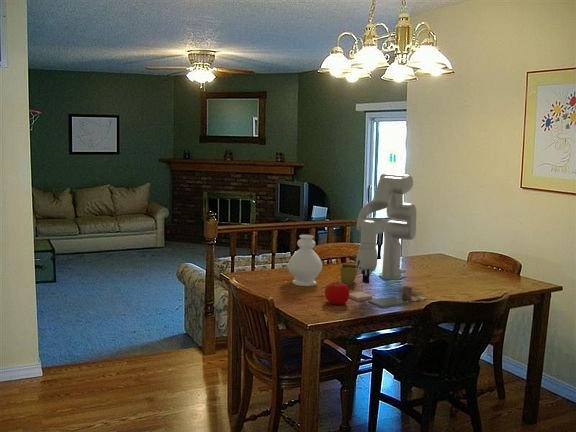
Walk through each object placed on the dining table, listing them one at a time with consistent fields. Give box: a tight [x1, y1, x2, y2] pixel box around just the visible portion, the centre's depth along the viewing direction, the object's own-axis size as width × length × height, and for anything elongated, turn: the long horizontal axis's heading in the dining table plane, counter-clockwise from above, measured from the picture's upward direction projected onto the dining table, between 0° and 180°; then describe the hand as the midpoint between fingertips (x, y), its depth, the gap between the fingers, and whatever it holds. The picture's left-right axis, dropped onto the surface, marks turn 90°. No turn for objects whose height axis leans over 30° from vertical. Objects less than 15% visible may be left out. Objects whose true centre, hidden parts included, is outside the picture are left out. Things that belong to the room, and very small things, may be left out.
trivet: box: [367, 295, 409, 309], centre depth 295 cm, size 16×10×1 cm, turn 123°
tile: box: [348, 291, 373, 302], centre depth 303 cm, size 2×8×9 cm
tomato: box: [324, 281, 350, 306], centre depth 291 cm, size 12×12×10 cm
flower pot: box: [339, 263, 358, 285], centre depth 329 cm, size 9×9×9 cm
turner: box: [401, 285, 427, 302], centre depth 303 cm, size 12×5×7 cm, turn 123°
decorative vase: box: [287, 234, 323, 287], centre depth 324 cm, size 18×18×25 cm
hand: (365, 282), depth 303 cm, fingers closed
